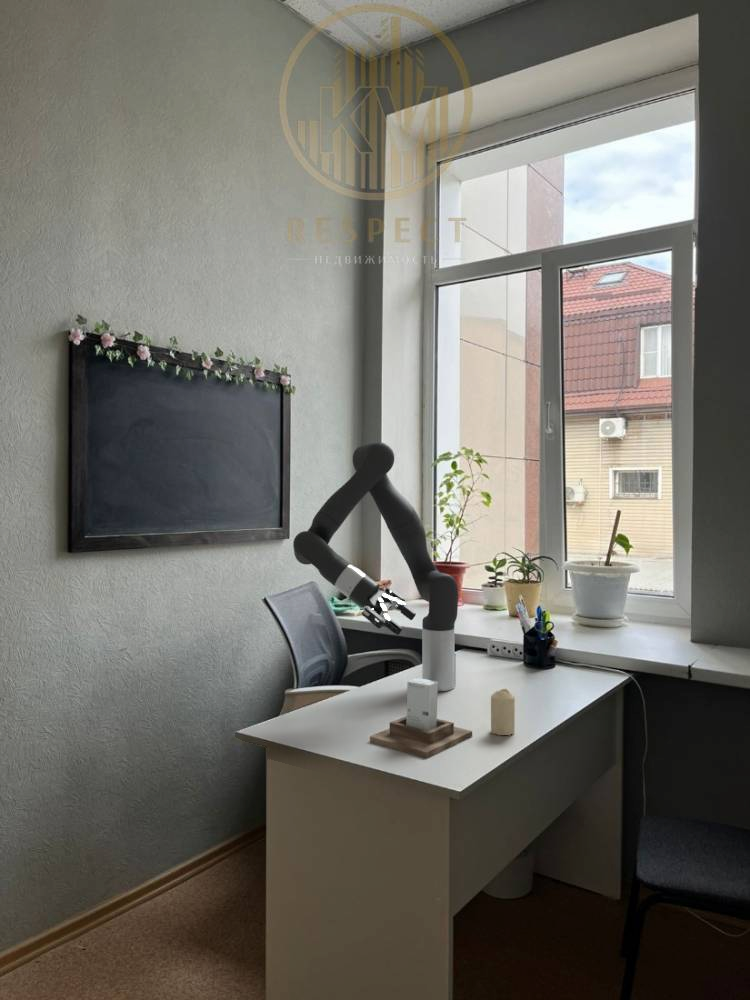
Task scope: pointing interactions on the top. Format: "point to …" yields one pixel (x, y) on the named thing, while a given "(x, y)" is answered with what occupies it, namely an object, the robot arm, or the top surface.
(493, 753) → the top surface
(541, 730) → the top surface
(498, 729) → the candle
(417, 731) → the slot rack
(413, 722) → the skincare box
